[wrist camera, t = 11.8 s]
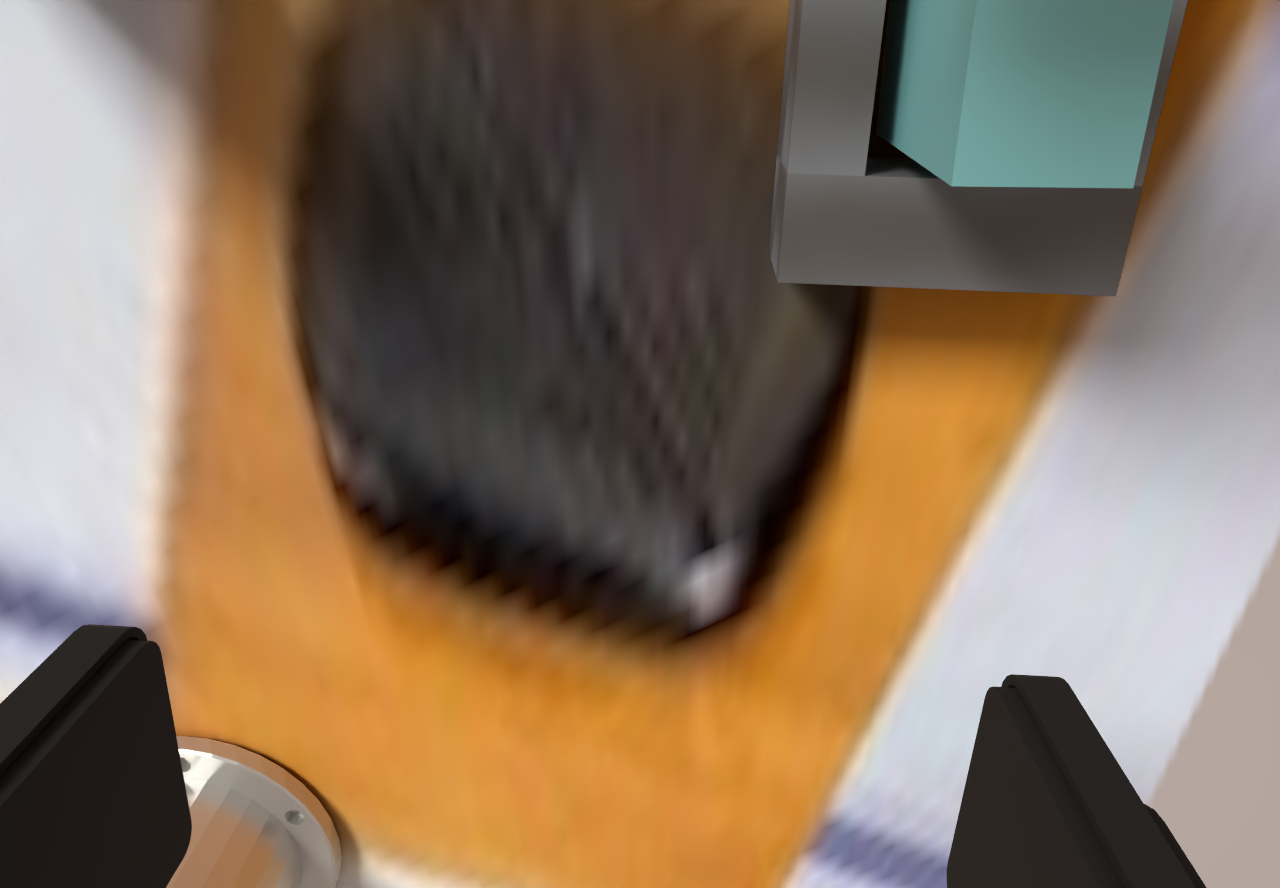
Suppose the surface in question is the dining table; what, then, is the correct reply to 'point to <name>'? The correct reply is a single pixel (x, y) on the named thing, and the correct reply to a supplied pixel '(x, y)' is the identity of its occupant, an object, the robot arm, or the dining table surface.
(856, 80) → the socket stand
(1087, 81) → the peg
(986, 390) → the dining table surface
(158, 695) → the robot arm
